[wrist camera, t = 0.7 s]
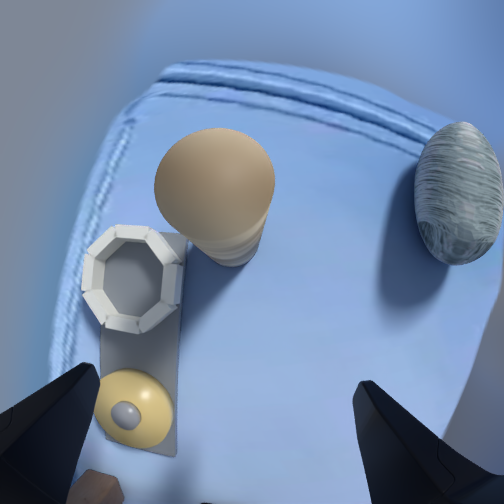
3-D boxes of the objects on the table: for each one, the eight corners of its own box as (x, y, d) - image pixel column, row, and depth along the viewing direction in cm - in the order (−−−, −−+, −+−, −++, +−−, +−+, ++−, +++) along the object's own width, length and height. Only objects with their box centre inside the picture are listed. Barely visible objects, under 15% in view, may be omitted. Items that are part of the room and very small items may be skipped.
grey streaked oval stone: (482, 293, 19) (530, 233, 11) (396, 267, 24) (414, 195, 16) (483, 190, 24) (504, 123, 16) (414, 170, 29) (421, 99, 20)
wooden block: (117, 476, 19) (88, 517, 11) (126, 499, 19) (101, 540, 11) (87, 467, 19) (53, 502, 11) (96, 490, 19) (68, 526, 11)
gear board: (177, 452, 20) (168, 473, 17) (100, 432, 20) (84, 448, 16) (189, 236, 23) (179, 226, 19) (105, 229, 23) (84, 220, 19)
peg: (256, 269, 22) (270, 245, 10) (201, 264, 22) (145, 235, 9) (261, 215, 23) (278, 132, 10) (207, 211, 23) (166, 127, 10)
